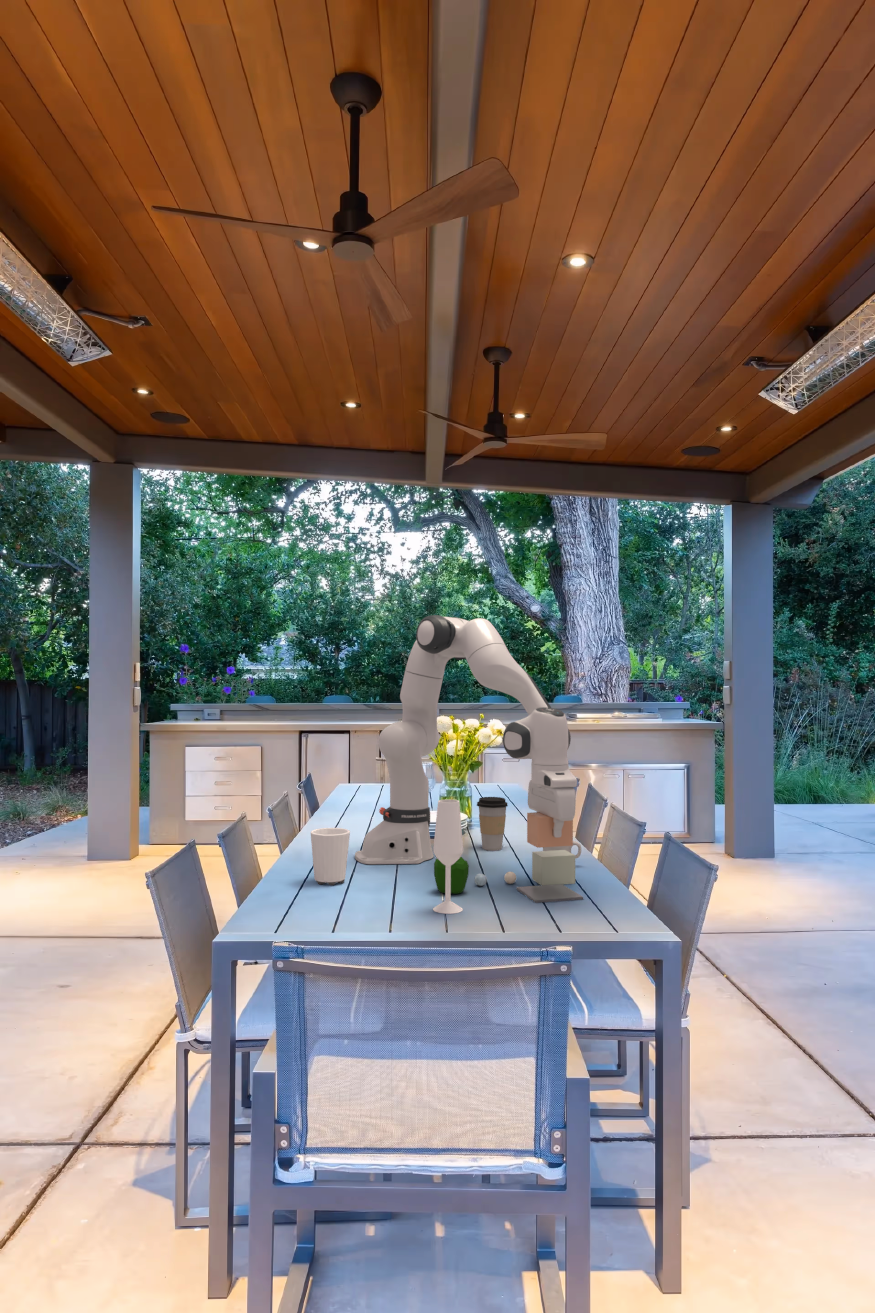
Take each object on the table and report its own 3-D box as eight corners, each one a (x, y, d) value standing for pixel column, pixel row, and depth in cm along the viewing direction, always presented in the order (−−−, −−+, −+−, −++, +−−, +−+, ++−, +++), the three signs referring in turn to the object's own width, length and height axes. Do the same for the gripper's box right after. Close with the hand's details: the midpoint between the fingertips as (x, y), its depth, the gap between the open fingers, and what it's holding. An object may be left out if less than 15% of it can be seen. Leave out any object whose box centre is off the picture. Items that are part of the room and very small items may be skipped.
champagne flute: (433, 904, 185) (434, 798, 185) (462, 905, 184) (463, 799, 185) (432, 913, 178) (433, 803, 178) (462, 914, 178) (463, 803, 178)
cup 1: (301, 882, 204) (302, 831, 204) (332, 875, 211) (332, 826, 211) (327, 889, 197) (327, 836, 197) (357, 882, 204) (358, 831, 205)
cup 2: (580, 863, 227) (580, 834, 227) (582, 870, 219) (582, 840, 219) (541, 862, 228) (541, 833, 228) (542, 869, 220) (542, 839, 220)
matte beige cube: (542, 885, 202) (542, 857, 202) (532, 879, 208) (532, 851, 208) (575, 883, 205) (575, 855, 205) (564, 877, 211) (564, 850, 211)
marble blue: (482, 873, 200) (490, 882, 200) (480, 869, 203) (487, 878, 203) (473, 881, 200) (480, 890, 200) (471, 877, 203) (478, 886, 203)
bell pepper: (472, 889, 199) (472, 847, 199) (464, 897, 191) (464, 854, 191) (439, 886, 201) (439, 845, 201) (429, 894, 193) (430, 852, 193)
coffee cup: (508, 852, 241) (509, 801, 241) (476, 851, 241) (477, 801, 241) (506, 845, 250) (506, 796, 250) (475, 845, 250) (476, 796, 250)
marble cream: (512, 885, 202) (503, 877, 202) (509, 887, 204) (500, 879, 205) (520, 876, 203) (510, 868, 203) (517, 878, 206) (508, 870, 206)
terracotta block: (537, 847, 190) (537, 817, 190) (527, 842, 196) (527, 812, 196) (572, 845, 193) (572, 815, 193) (561, 840, 199) (561, 811, 199)
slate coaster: (535, 902, 187) (535, 900, 187) (516, 889, 198) (516, 887, 198) (583, 899, 190) (583, 896, 190) (561, 886, 202) (561, 884, 202)
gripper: (521, 771, 204) (521, 826, 204) (555, 781, 184) (555, 842, 184) (544, 770, 206) (544, 825, 205) (580, 780, 186) (580, 841, 186)
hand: (549, 833), depth 195 cm, fingers closed on terracotta block, 6 cm apart
